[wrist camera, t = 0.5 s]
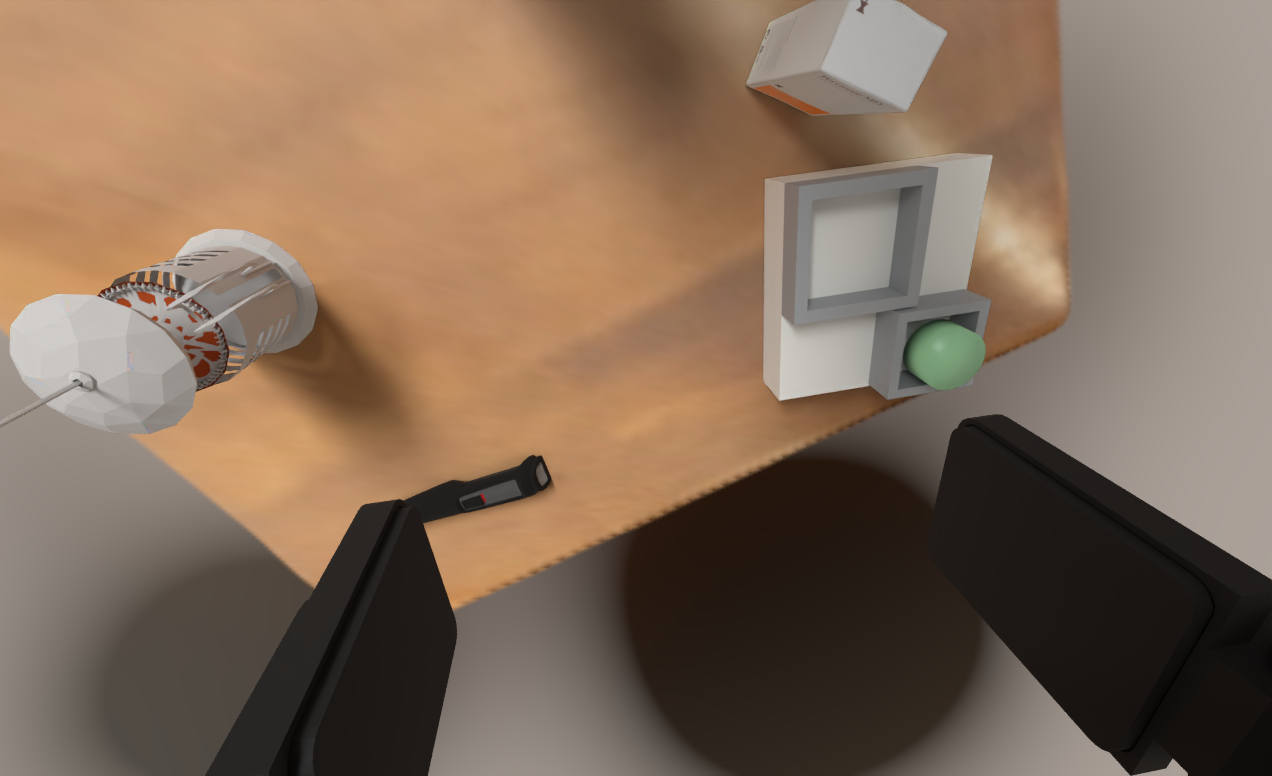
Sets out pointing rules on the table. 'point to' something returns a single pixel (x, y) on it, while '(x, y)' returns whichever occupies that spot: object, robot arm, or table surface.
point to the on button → (944, 354)
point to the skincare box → (846, 57)
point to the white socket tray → (867, 270)
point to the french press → (162, 333)
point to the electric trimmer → (482, 491)
